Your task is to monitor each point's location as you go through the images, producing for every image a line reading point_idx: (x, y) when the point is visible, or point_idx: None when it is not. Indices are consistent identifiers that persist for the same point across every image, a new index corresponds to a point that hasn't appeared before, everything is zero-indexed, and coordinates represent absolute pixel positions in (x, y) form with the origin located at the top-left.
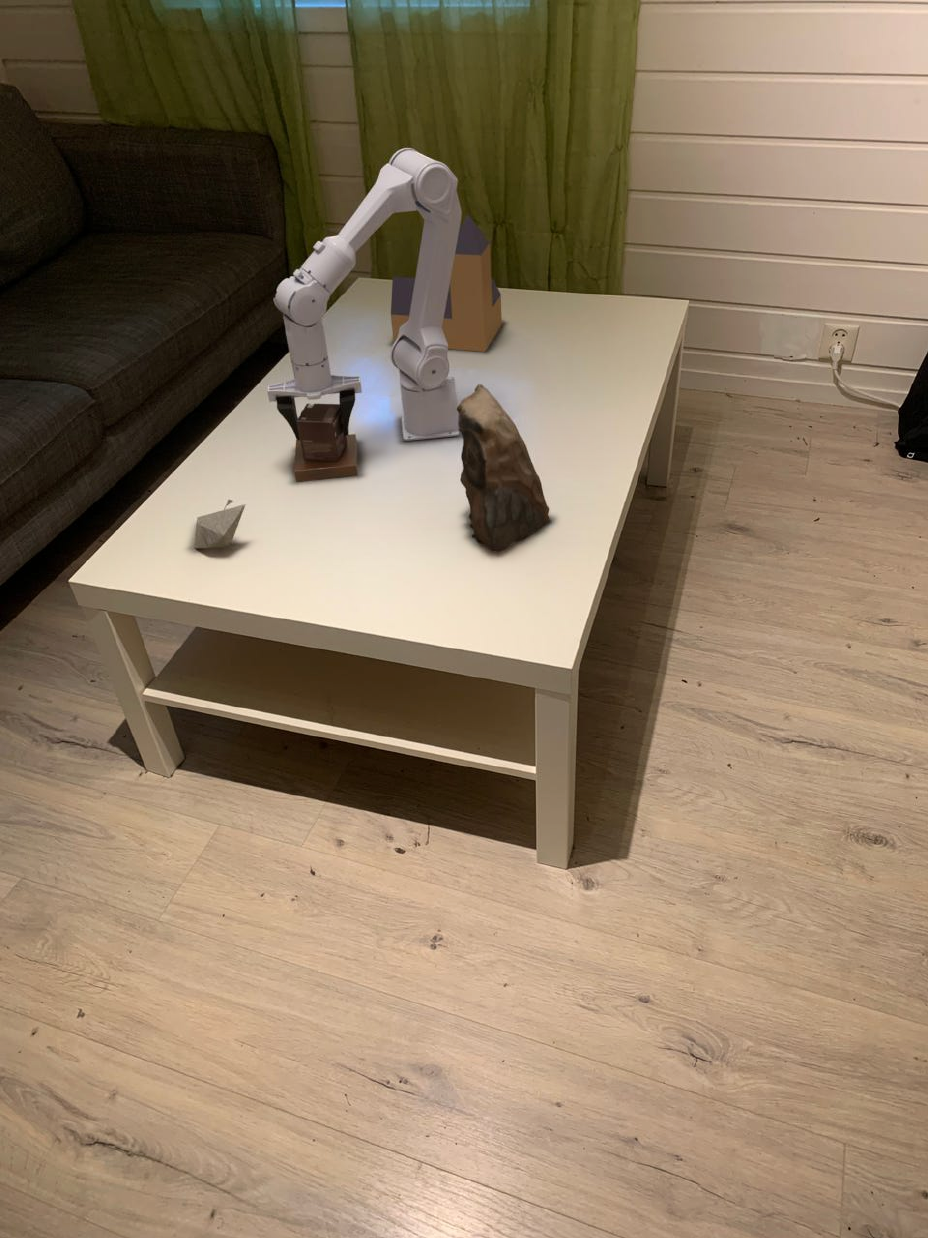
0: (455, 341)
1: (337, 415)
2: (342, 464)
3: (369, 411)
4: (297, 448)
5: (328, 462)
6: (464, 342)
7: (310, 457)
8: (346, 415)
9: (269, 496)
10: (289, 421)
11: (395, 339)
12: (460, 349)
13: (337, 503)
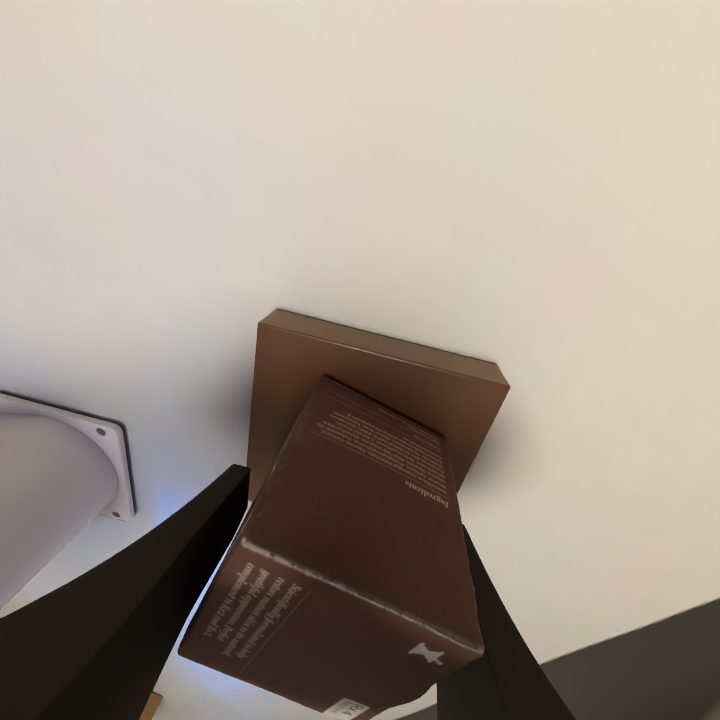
0: None
1: (209, 586)
2: (310, 350)
3: (215, 569)
4: None
5: (360, 387)
6: None
7: (422, 432)
8: (136, 562)
9: (638, 312)
10: (530, 666)
11: (151, 709)
12: None
13: (392, 124)
